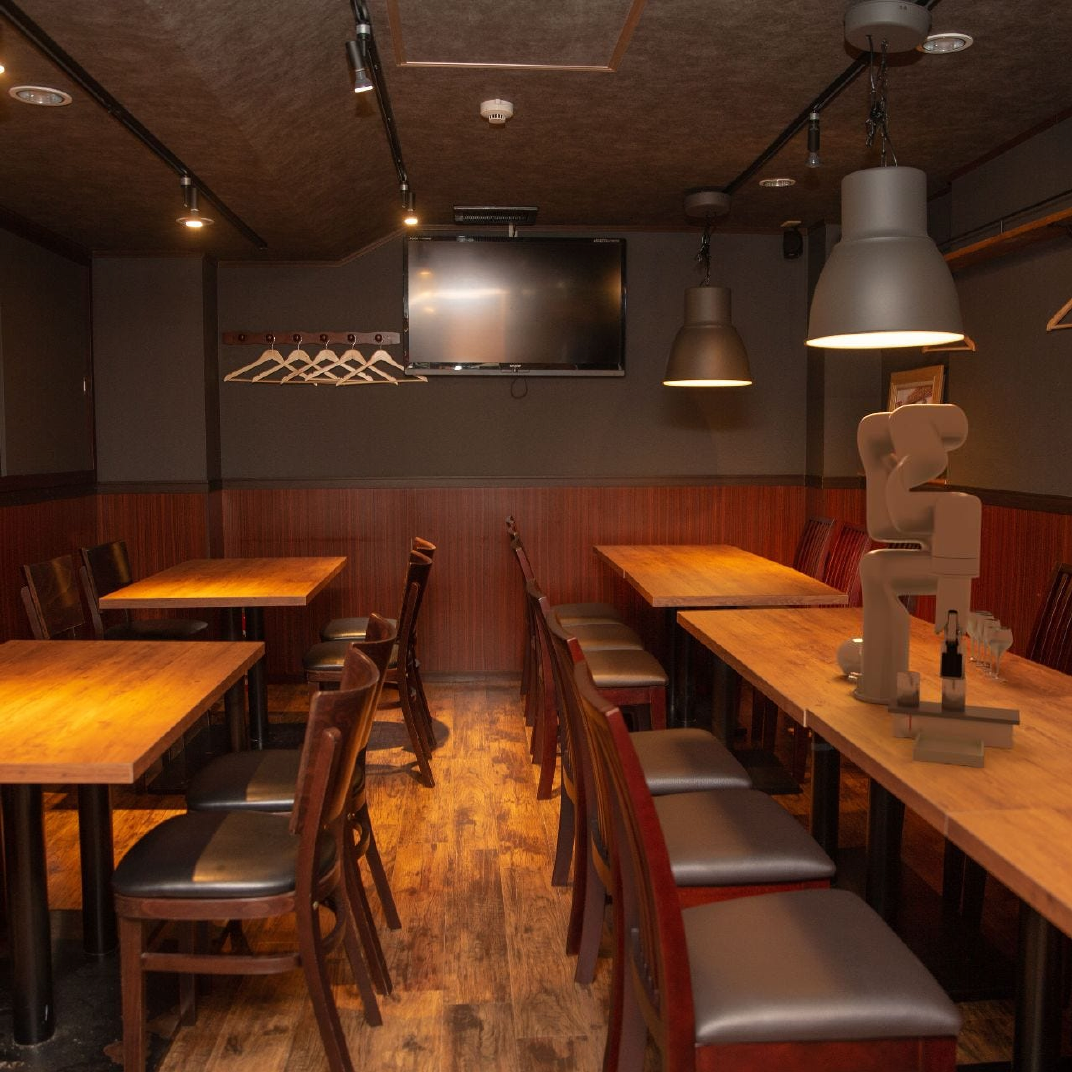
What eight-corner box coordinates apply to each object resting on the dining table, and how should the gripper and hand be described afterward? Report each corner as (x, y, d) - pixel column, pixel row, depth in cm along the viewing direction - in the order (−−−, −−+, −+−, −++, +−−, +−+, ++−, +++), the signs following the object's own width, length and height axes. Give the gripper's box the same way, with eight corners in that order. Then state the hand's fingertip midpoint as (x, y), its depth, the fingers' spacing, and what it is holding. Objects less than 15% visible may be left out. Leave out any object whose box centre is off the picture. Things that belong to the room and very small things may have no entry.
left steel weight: (892, 704, 196) (893, 672, 195) (905, 701, 198) (906, 669, 198) (910, 708, 193) (911, 676, 192) (923, 705, 195) (924, 673, 194)
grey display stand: (886, 736, 193) (887, 708, 193) (891, 725, 201) (891, 698, 200) (1018, 750, 184) (1019, 720, 184) (1018, 738, 192) (1019, 710, 192)
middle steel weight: (936, 708, 193) (937, 676, 192) (949, 705, 195) (950, 673, 194) (956, 712, 189) (957, 680, 189) (969, 709, 192) (970, 677, 191)
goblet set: (958, 658, 267) (959, 606, 266) (982, 659, 266) (984, 606, 265) (987, 682, 239) (989, 624, 238) (1014, 683, 238) (1016, 625, 237)
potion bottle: (831, 681, 246) (897, 691, 244) (838, 664, 238) (907, 674, 236) (833, 645, 251) (898, 654, 249) (840, 627, 243) (908, 637, 240)
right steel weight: (934, 677, 181) (936, 642, 180) (948, 674, 183) (949, 640, 183) (956, 681, 177) (957, 645, 177) (969, 678, 180) (970, 643, 179)
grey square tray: (912, 759, 179) (912, 748, 179) (917, 743, 189) (917, 732, 189) (983, 767, 174) (983, 756, 174) (984, 750, 184) (984, 739, 184)
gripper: (934, 562, 188) (931, 663, 189) (928, 571, 173) (925, 681, 174) (980, 564, 185) (976, 667, 186) (978, 573, 170) (974, 685, 171)
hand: (952, 673), depth 180 cm, fingers closed on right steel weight, 4 cm apart
